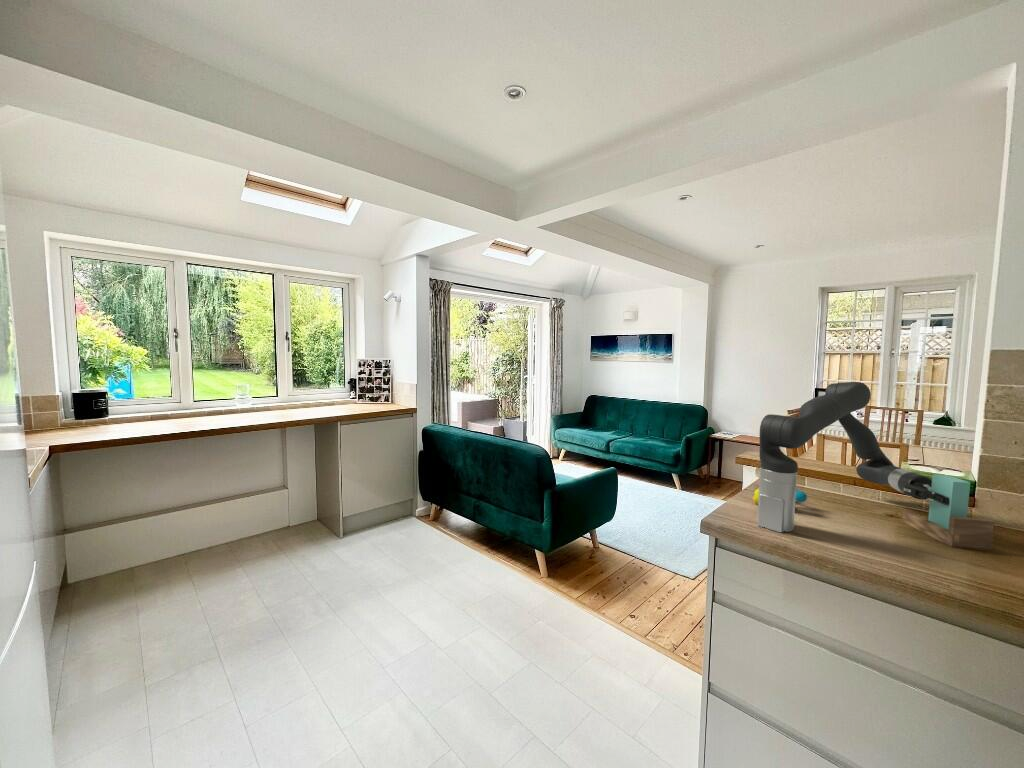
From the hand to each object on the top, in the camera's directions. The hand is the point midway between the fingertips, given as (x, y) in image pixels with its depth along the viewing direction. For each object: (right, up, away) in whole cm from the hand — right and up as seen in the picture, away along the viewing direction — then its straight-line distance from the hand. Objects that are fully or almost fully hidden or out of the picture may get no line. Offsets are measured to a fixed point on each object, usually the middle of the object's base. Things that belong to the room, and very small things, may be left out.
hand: (957, 502), depth 115 cm
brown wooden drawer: (+1, -11, +4) cm, 12 cm away
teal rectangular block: (0, -8, +3) cm, 9 cm away
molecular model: (-33, -9, +27) cm, 44 cm away
